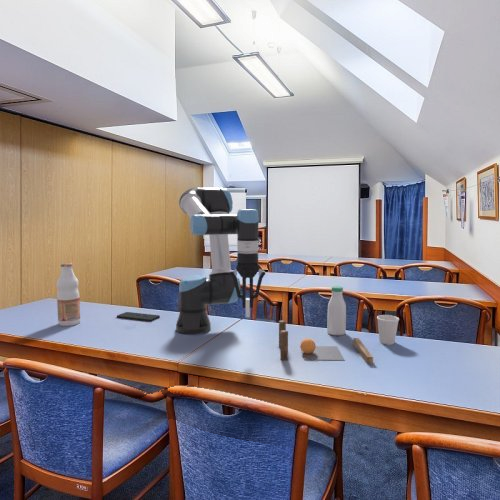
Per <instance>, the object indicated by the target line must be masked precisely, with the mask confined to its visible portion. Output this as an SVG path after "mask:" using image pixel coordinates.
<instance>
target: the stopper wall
mask: <svg viewBox="0 0 500 500" xmlns="http://www.w3.org/2000/svg"><path fill="white" fill-rule="evenodd" d="M352 342H353V346H354V347H355V349H356V350H357V352H358V353H359V355H360V356H361V357H362V359H363V360H364V362H365V363H366V364H367V365H374V357H373V355H372V353H371V352H370V351H369V350H368V348H367V347H366V346H365V344H364V343H363V342H362V341H361V339H360V338H359V337H355V338H354V337H353V340H352Z"/></svg>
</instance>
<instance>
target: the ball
mask: <svg viewBox="0 0 500 500" xmlns="http://www.w3.org/2000/svg"><path fill="white" fill-rule="evenodd" d="M300 346H301V347H300V349H301V352H302V351H303V352H304V353H306V354H311V353H313V352H314V351H315V348H316V346H317V345H316V342H315V341H314V339H312V338H304V339H302V341H301V342H300Z"/></svg>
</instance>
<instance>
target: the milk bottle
mask: <svg viewBox="0 0 500 500" xmlns="http://www.w3.org/2000/svg"><path fill="white" fill-rule="evenodd" d="M343 292H344V287H342V286H338V285H337V286H332V287H331V297H330V299H329V301H328V304H327V315H326V316H327V318H326V319H327V320H326V323H327V324H326V325H327V327H326V332H327V334H329V335H331V336H344V335H345V334H346V332H347V331H346V329H347V328H346V327H347V306H346V305H347V304H346V301H345V300H344V297H343V294H344V293H343Z"/></svg>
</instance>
